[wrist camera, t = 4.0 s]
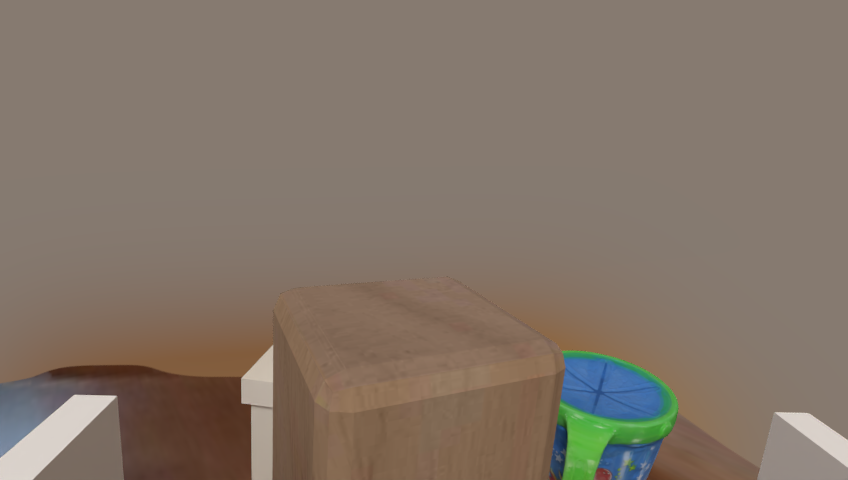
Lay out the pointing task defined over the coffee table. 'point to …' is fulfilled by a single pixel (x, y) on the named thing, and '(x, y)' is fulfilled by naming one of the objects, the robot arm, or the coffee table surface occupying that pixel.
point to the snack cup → (609, 419)
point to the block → (410, 385)
